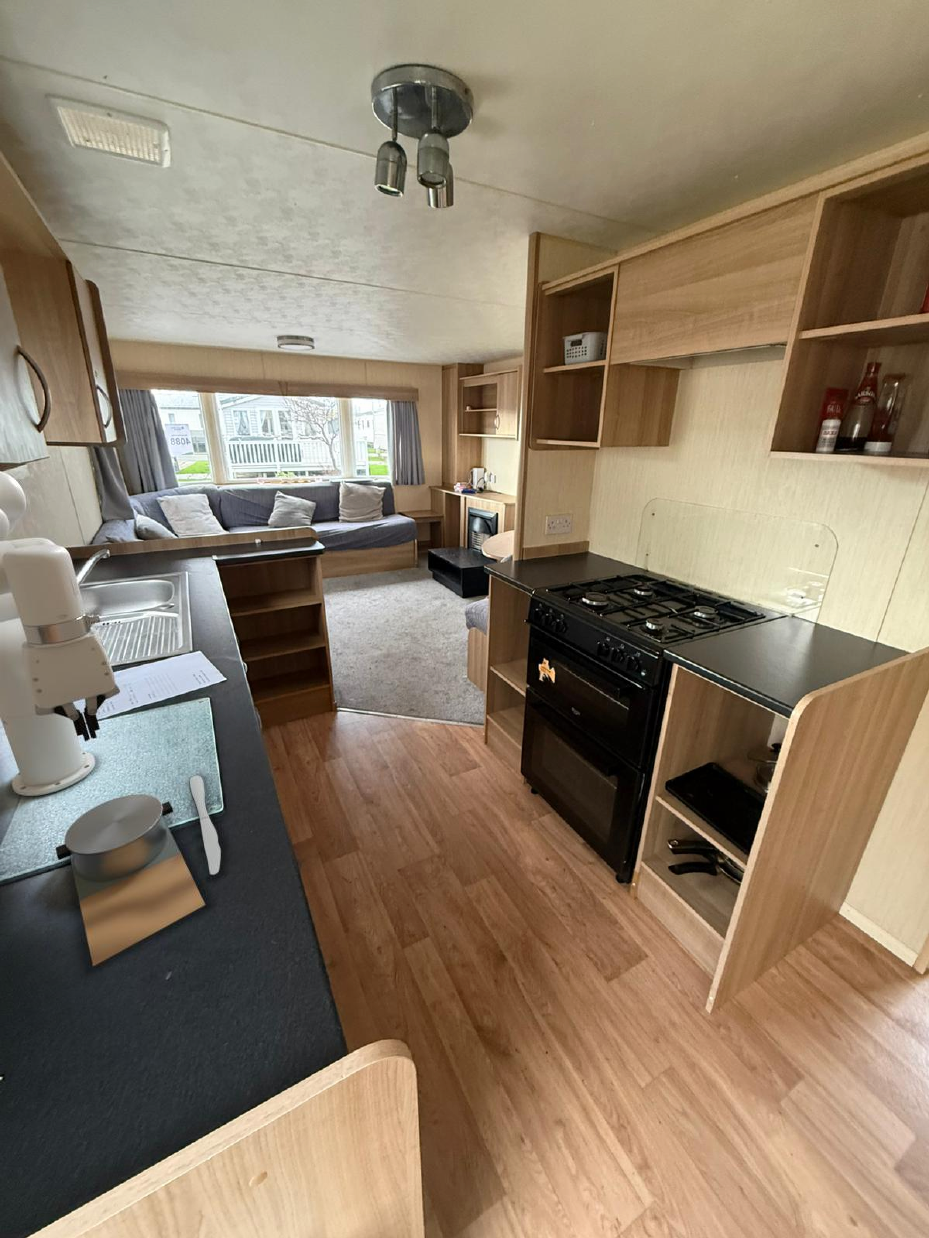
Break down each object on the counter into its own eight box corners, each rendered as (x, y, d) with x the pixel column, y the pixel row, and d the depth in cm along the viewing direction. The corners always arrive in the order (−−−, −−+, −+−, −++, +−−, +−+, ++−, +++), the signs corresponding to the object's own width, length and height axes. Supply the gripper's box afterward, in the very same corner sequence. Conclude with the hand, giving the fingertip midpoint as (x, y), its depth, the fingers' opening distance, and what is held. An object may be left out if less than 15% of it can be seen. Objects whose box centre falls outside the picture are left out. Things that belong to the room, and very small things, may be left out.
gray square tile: (68, 851, 79) (68, 849, 79) (161, 812, 88) (160, 811, 88) (79, 902, 71) (79, 900, 71) (180, 854, 79) (180, 852, 79)
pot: (60, 851, 79) (50, 822, 77) (166, 807, 88) (160, 780, 86) (70, 904, 70) (59, 872, 68) (187, 848, 80) (180, 820, 78)
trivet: (79, 902, 71) (79, 900, 71) (180, 854, 79) (180, 852, 79) (93, 967, 62) (93, 966, 62) (205, 906, 70) (205, 904, 70)
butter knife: (205, 771, 97) (188, 776, 96) (227, 869, 76) (205, 876, 74) (206, 774, 97) (188, 778, 96) (227, 872, 76) (206, 880, 75)
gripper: (113, 612, 82) (138, 711, 88) (-10, 635, 72) (28, 744, 78) (122, 624, 76) (148, 728, 83) (-9, 650, 67) (31, 766, 73)
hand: (89, 735), depth 80 cm, fingers closed
